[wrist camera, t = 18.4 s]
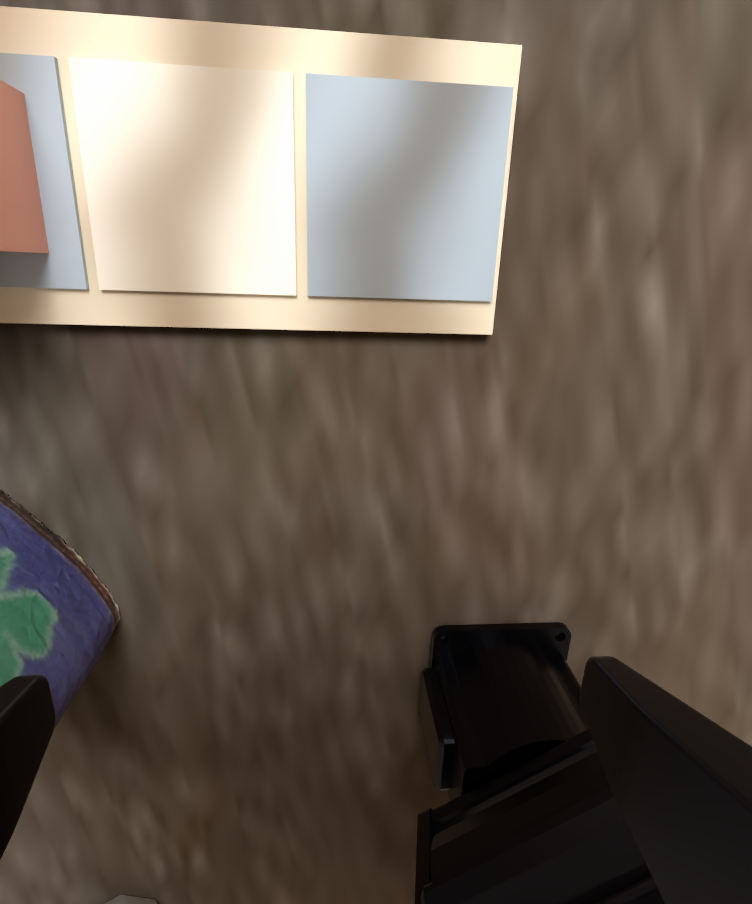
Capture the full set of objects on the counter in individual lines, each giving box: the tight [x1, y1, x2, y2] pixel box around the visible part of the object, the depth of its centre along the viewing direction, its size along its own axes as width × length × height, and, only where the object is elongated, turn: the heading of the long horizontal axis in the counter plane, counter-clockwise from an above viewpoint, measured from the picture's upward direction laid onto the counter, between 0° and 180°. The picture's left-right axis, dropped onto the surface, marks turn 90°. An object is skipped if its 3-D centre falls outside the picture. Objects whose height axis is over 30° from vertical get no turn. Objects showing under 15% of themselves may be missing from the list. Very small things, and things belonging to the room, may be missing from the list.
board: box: [0, 6, 522, 335], centre depth 17 cm, size 21×9×1 cm, turn 88°
